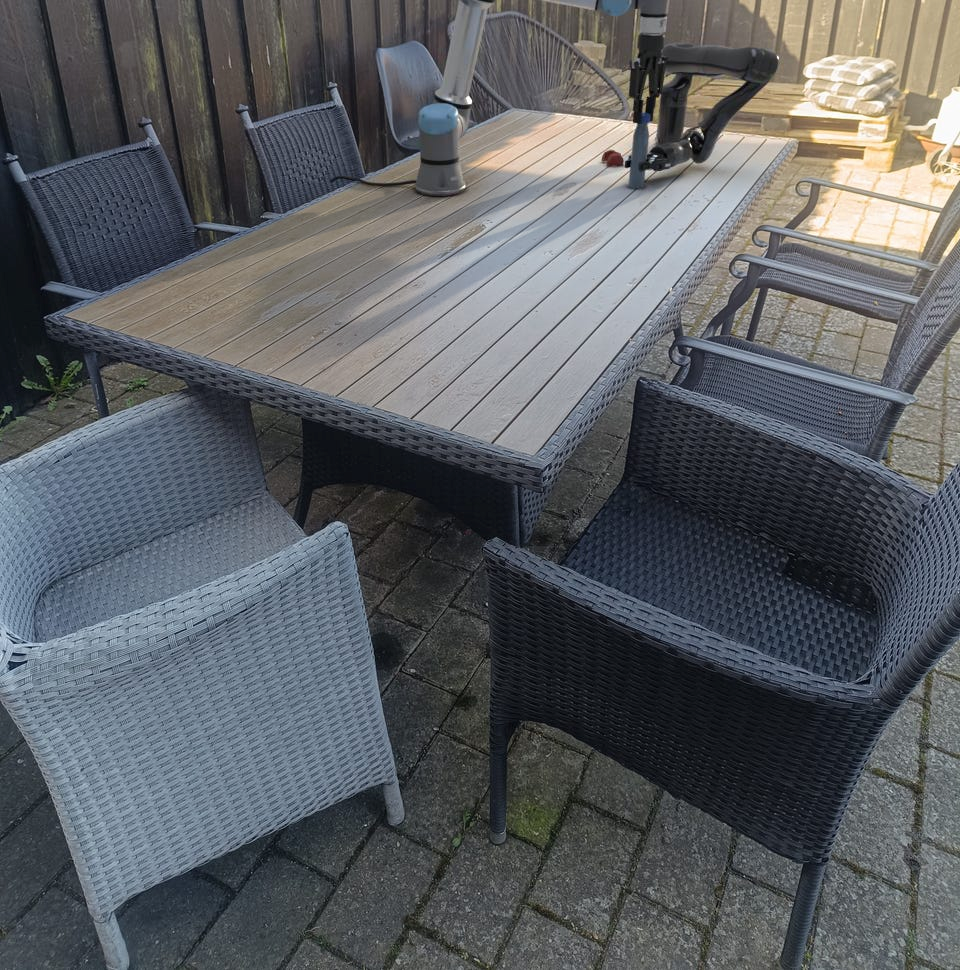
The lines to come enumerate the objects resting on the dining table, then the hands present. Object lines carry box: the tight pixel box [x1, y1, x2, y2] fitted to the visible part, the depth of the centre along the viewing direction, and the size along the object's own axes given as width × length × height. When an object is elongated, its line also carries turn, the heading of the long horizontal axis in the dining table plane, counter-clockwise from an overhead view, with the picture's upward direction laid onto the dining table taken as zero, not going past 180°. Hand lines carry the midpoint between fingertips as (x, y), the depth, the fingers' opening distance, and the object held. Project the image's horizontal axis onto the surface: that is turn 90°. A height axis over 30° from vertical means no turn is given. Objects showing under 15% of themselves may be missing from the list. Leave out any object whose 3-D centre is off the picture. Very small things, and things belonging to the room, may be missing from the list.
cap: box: [641, 112, 651, 124], centre depth 249 cm, size 4×4×2 cm
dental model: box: [601, 149, 625, 167], centre depth 281 cm, size 6×4×8 cm
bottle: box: [627, 123, 650, 190], centre depth 255 cm, size 5×5×20 cm
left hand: (642, 121), depth 250 cm, fingers closed on cap, 4 cm apart
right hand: (632, 166), depth 256 cm, fingers closed on bottle, 4 cm apart
